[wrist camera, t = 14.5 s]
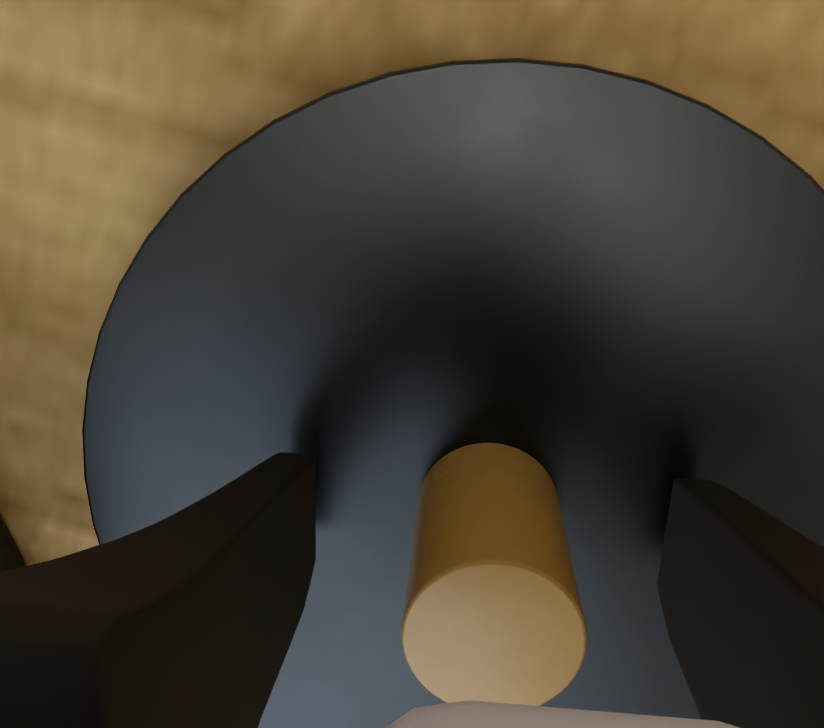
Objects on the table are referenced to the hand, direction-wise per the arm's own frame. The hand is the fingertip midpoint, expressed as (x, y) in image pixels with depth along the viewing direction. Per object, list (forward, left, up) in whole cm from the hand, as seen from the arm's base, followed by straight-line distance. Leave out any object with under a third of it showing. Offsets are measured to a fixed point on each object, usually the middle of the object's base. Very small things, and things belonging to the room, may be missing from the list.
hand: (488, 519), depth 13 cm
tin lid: (0, 0, -1) cm, 1 cm away
